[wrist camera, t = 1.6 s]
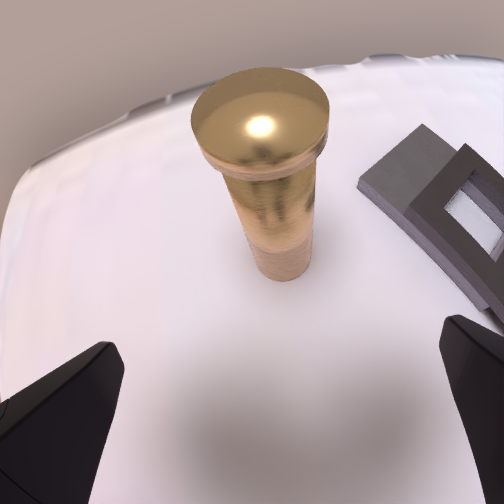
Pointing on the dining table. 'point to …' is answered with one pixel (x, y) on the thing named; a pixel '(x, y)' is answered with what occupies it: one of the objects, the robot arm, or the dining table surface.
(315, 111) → the brass pin
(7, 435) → the robot arm
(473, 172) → the grey rectangular frame
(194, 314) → the dining table surface
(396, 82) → the dining table surface
